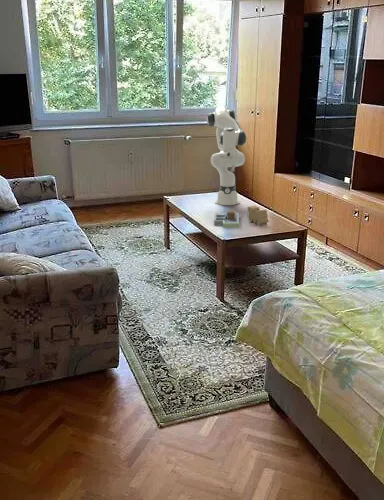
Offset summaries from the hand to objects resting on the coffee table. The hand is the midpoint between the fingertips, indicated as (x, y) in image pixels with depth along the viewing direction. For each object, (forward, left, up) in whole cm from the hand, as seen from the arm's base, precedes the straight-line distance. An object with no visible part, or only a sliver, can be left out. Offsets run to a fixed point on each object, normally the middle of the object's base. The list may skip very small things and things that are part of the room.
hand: (229, 172), depth 360 cm
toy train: (+18, +20, -31) cm, 41 cm away
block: (+8, +2, -31) cm, 32 cm away
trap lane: (+17, -1, -31) cm, 35 cm away
